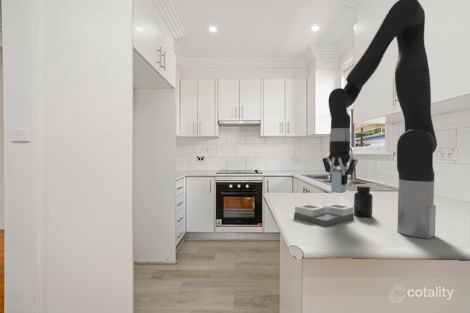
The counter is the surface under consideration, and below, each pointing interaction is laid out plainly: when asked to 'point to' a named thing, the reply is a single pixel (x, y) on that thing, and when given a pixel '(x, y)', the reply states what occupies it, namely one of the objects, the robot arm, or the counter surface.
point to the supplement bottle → (363, 202)
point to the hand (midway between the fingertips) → (338, 183)
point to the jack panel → (324, 213)
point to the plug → (337, 182)
